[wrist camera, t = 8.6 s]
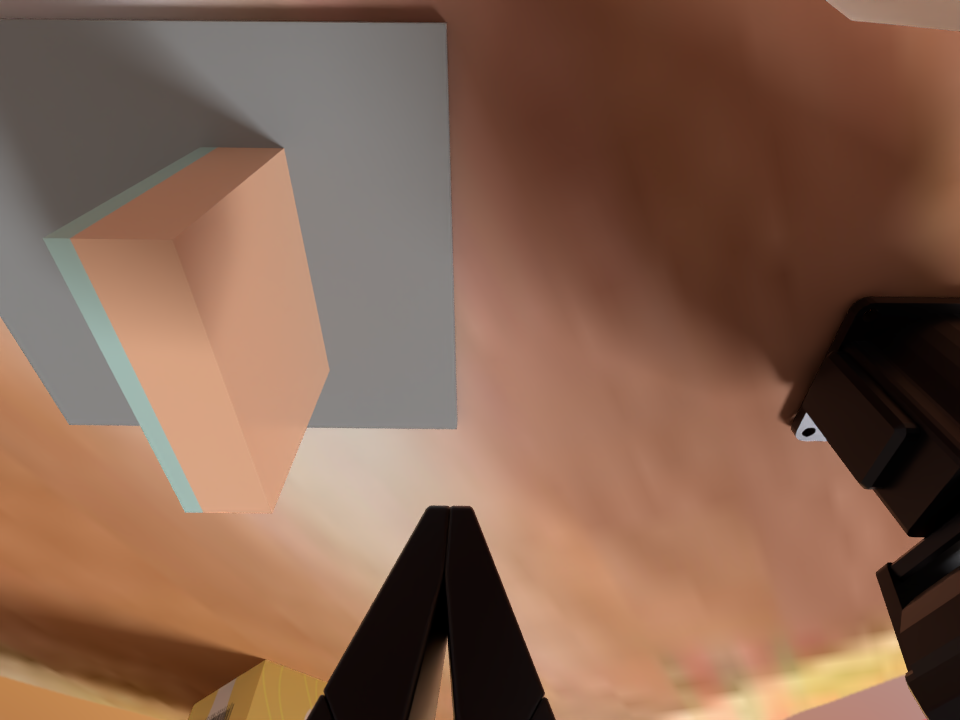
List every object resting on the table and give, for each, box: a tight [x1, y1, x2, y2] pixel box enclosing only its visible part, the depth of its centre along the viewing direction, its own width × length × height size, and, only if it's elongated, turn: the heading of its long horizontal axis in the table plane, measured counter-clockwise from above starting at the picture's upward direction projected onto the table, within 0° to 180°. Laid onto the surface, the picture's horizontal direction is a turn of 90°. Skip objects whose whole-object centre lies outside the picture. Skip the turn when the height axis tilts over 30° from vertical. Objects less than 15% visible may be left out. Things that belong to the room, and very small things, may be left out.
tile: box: [43, 147, 330, 514], centre depth 14 cm, size 2×8×6 cm, turn 179°
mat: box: [0, 19, 457, 429], centre depth 17 cm, size 16×14×1 cm
